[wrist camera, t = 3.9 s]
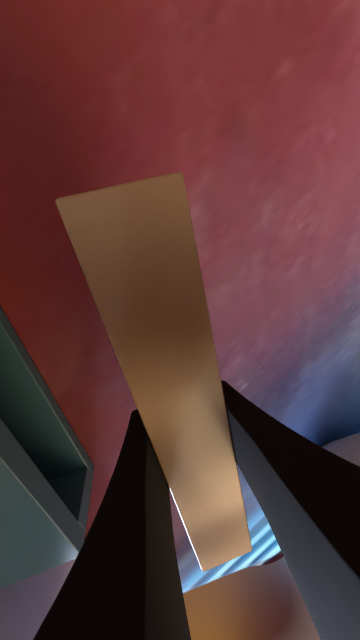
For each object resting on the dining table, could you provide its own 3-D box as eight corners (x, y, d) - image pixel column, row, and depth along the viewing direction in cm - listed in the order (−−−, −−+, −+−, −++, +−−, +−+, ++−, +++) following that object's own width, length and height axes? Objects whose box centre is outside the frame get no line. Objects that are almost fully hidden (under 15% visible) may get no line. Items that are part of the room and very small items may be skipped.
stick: (226, 483, 14) (252, 551, 11) (186, 499, 14) (202, 573, 11) (161, 194, 7) (182, 170, 5) (82, 212, 7) (52, 198, 4)
